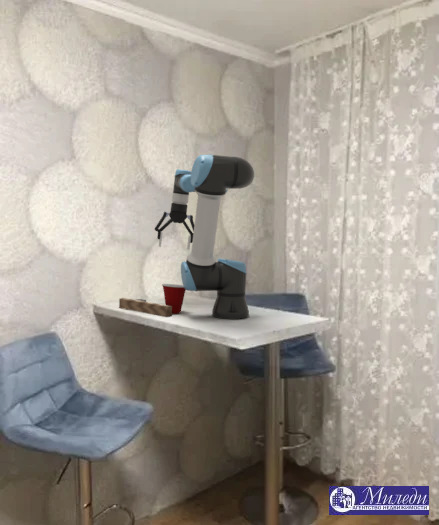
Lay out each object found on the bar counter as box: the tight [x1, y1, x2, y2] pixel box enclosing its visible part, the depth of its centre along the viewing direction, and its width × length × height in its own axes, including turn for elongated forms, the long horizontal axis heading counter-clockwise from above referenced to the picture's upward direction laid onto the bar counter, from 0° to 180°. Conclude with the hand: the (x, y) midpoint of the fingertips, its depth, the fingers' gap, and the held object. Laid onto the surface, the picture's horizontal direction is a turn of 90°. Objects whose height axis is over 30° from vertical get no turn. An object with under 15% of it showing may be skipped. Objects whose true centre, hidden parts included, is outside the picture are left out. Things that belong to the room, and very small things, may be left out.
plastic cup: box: [161, 283, 187, 315], centre depth 199 cm, size 11×11×12 cm
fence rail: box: [118, 297, 173, 318], centre depth 202 cm, size 29×11×4 cm, turn 51°
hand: (174, 247), depth 224 cm, fingers open, 13 cm apart
